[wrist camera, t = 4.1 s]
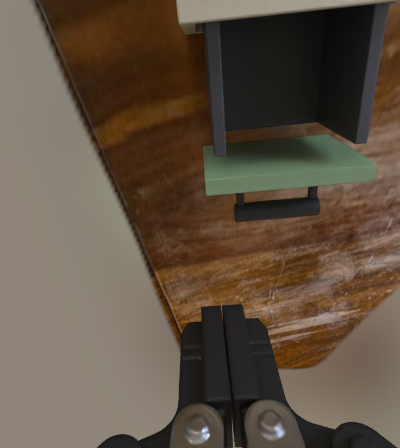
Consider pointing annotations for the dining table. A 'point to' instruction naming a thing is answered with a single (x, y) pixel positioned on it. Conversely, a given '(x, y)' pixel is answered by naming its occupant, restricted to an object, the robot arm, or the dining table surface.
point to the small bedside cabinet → (252, 9)
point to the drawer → (291, 103)
